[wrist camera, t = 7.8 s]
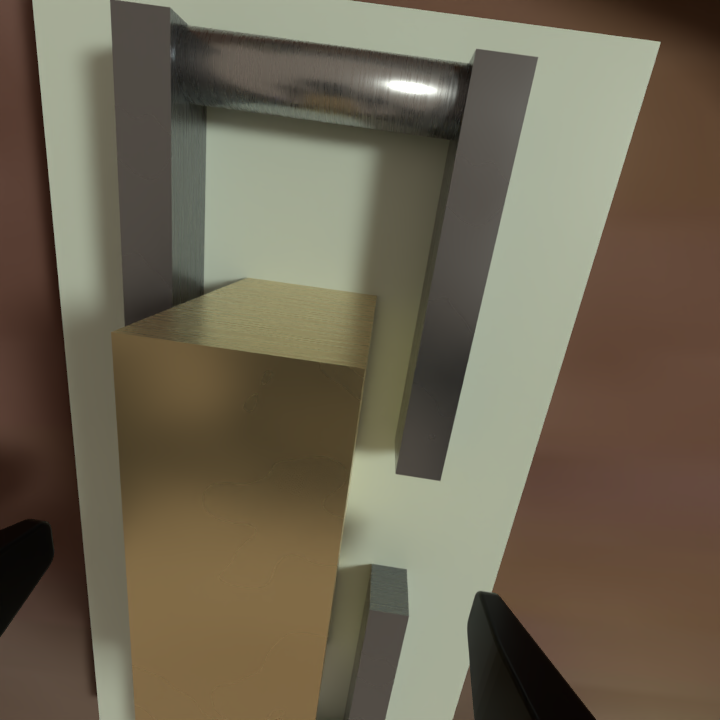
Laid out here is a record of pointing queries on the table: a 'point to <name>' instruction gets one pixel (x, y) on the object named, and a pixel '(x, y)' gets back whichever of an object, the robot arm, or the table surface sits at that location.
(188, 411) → the link bar
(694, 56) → the table surface
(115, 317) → the base board
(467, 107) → the chain end links
